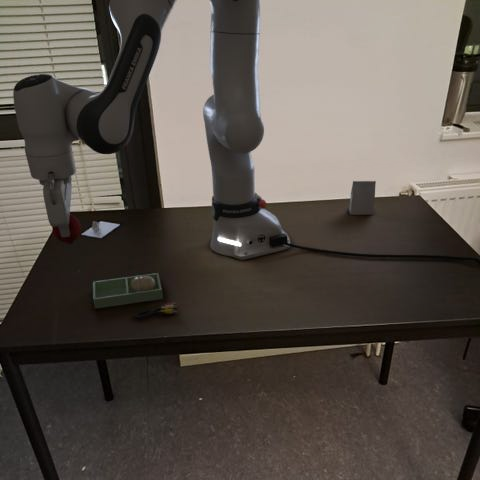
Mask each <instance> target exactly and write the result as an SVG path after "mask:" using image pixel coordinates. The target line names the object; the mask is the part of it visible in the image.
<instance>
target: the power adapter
mask: <svg viewBox="0 0 480 480" xmlns="http://www.w3.org/2000/svg"><path fill="white" fill-rule="evenodd" d="M101 224H102V223H101V221H99V222H97V221H92V226H91V227H90V228H91V230H92V231H94V232H96V233H98V232H100V231H101V229H102V228H101Z"/></svg>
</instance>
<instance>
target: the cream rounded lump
mask: <svg viewBox="0 0 480 480" xmlns="http://www.w3.org/2000/svg"><path fill="white" fill-rule="evenodd" d="M138 276H139V275H138ZM155 287H156V282H155V280H154V278H152V277H151V276H139V277H136V278H134V279H133V280H132V281H131V289H132V291H133V292H142V291H149V290H154V289H155Z"/></svg>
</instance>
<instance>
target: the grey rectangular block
mask: <svg viewBox="0 0 480 480" xmlns="http://www.w3.org/2000/svg"><path fill="white" fill-rule="evenodd" d="M376 181H377V180H353V181H352V184H351V189H350V190H351V191H350V198H349V207H348V211H349V214H350V215H352V216H353V215H357V216H359V215H360V216H361V215H363V216H364V215H365V216H366V215H369V216H372V215H373V214H374V207H375V200H376V184H377V183H376Z"/></svg>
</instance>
